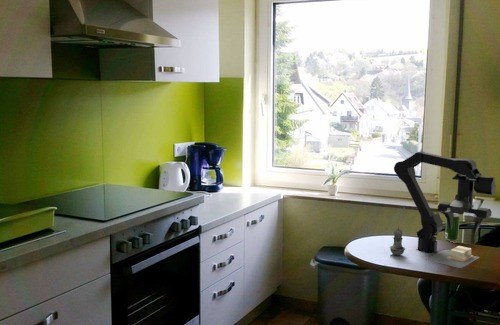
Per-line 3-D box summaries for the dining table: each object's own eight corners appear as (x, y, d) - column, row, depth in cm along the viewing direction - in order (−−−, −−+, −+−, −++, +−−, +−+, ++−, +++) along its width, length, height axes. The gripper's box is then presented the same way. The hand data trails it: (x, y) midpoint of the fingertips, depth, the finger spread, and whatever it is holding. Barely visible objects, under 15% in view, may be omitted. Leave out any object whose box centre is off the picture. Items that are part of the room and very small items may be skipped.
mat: (424, 260, 200) (424, 259, 200) (444, 250, 213) (444, 249, 213) (460, 269, 191) (460, 268, 191) (479, 258, 204) (479, 257, 204)
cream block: (458, 253, 208) (458, 245, 208) (471, 255, 205) (471, 248, 204) (449, 257, 203) (450, 250, 202) (462, 260, 199) (463, 252, 199)
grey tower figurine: (391, 253, 209) (392, 224, 208) (406, 255, 206) (408, 226, 205) (387, 257, 204) (388, 227, 203) (402, 260, 201) (404, 229, 200)
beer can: (450, 241, 226) (451, 214, 225) (442, 238, 231) (444, 211, 230) (460, 241, 228) (462, 214, 226) (452, 237, 233) (454, 211, 231)
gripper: (432, 191, 201) (430, 230, 203) (482, 198, 188) (479, 240, 190) (444, 187, 209) (442, 225, 211) (493, 194, 196) (490, 234, 198)
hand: (462, 231), depth 202 cm, fingers open, 9 cm apart
